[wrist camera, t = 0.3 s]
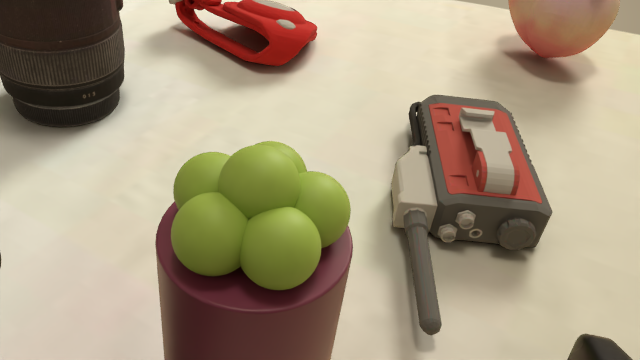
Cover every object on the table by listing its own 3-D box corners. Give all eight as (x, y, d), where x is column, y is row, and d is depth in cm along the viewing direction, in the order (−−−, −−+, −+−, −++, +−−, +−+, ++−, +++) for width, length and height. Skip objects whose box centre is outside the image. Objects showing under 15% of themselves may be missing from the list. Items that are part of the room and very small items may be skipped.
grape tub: (296, 525, 22) (355, 250, 13) (149, 491, 23) (109, 200, 14) (322, 391, 27) (379, 116, 18) (198, 364, 27) (192, 81, 18)
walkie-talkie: (380, 117, 44) (402, 348, 29) (391, 63, 42) (422, 285, 26) (497, 130, 45) (582, 364, 29) (516, 78, 42) (621, 304, 26)
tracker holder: (303, 3, 56) (343, 25, 48) (291, 50, 57) (329, 80, 49) (170, -28, 51) (189, -9, 43) (161, 24, 52) (178, 52, 44)
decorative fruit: (613, 76, 54) (666, -35, 48) (542, 87, 51) (588, -31, 45) (545, 30, 61) (584, -74, 54) (478, 36, 58) (511, -73, 51)
